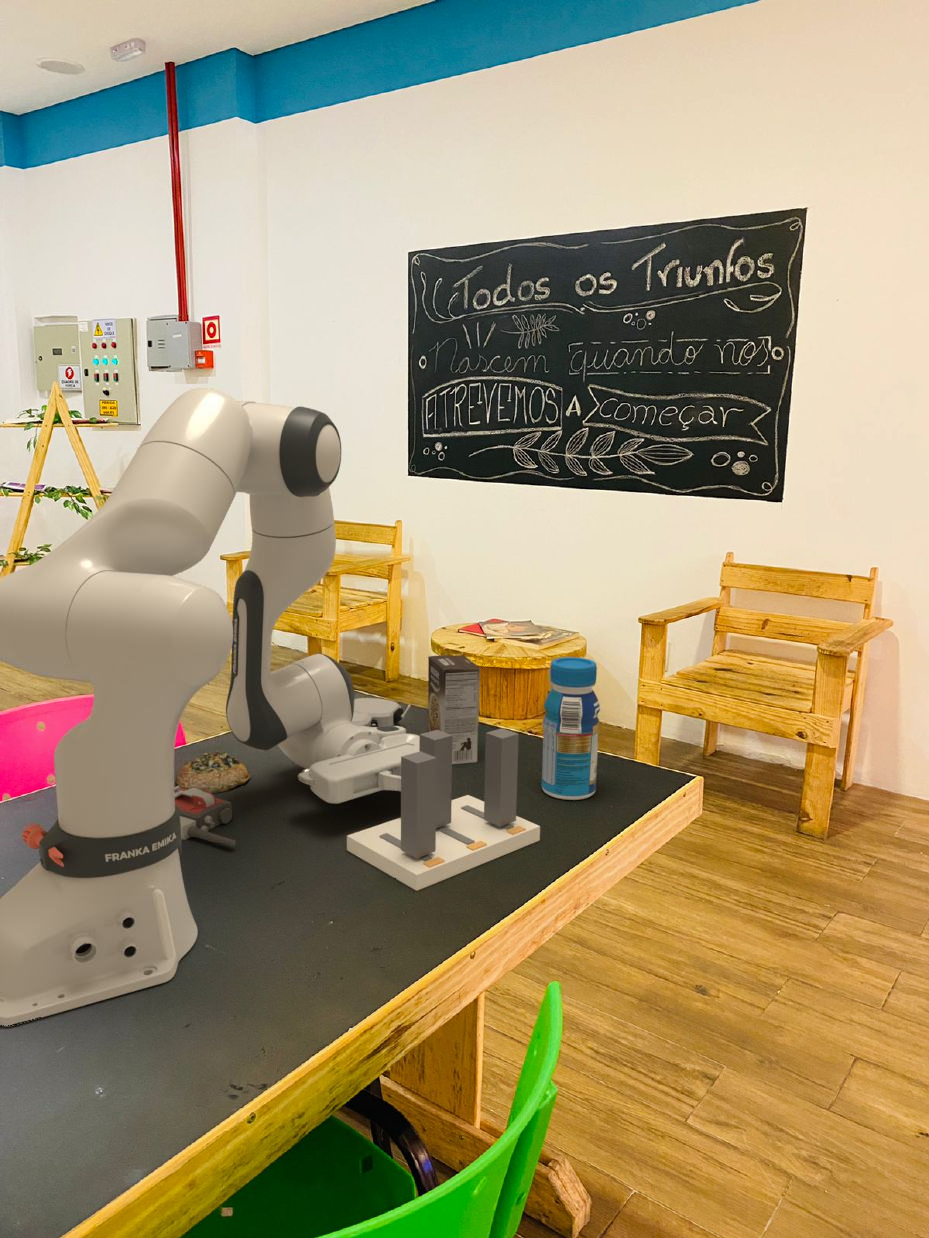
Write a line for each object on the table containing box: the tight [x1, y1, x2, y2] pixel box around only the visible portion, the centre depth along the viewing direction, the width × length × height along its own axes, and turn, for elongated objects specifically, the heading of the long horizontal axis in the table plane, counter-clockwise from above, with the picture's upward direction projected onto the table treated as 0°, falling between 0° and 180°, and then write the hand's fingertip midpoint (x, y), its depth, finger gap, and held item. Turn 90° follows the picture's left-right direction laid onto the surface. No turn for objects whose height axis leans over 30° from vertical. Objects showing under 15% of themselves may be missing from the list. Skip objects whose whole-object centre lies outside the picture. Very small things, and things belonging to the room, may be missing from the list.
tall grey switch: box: [400, 751, 437, 859], centre depth 111 cm, size 3×3×12 cm
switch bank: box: [346, 794, 541, 891], centre depth 119 cm, size 21×14×2 cm, turn 132°
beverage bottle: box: [541, 656, 601, 801], centre depth 137 cm, size 8×8×20 cm
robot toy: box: [351, 697, 411, 727], centre depth 164 cm, size 12×4×15 cm
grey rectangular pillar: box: [419, 730, 453, 828], centre depth 119 cm, size 3×3×12 cm
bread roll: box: [175, 750, 251, 794], centre depth 140 cm, size 11×11×5 cm
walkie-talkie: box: [174, 785, 237, 847], centre depth 124 cm, size 9×4×20 cm
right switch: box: [483, 727, 520, 827], centre depth 120 cm, size 3×3×12 cm
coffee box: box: [427, 654, 481, 765], centre depth 152 cm, size 9×6×16 cm
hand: (415, 785), depth 123 cm, fingers closed
